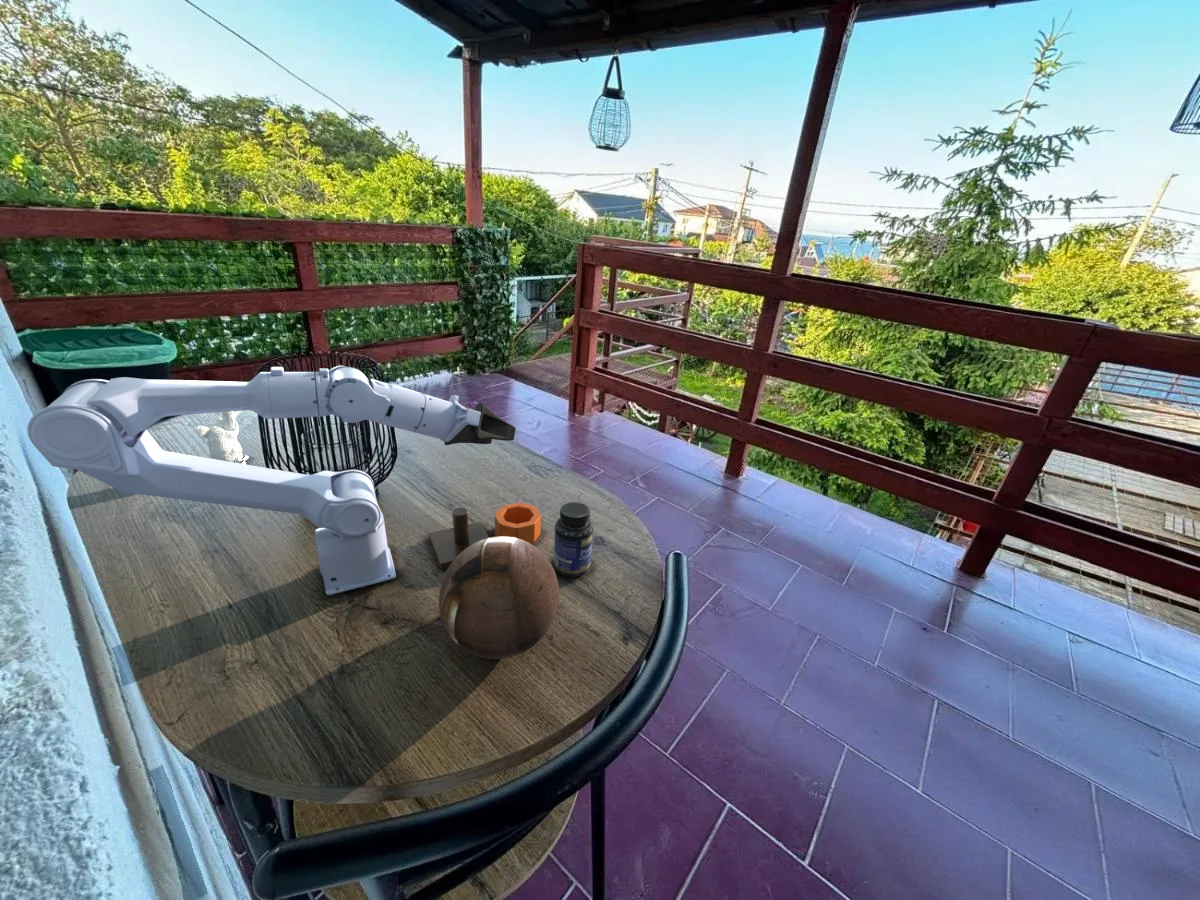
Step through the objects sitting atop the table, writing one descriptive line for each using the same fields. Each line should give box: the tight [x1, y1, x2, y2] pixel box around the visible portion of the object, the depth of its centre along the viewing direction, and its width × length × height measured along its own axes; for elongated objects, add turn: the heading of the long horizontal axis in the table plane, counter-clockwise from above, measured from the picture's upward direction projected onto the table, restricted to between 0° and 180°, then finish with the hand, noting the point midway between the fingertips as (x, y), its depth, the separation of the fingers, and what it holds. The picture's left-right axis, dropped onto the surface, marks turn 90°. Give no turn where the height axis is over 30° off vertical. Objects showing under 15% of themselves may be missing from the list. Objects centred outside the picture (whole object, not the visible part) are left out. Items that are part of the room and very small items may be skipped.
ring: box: [494, 502, 542, 545], centre depth 85 cm, size 8×8×4 cm
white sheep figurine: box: [196, 410, 250, 465], centre depth 98 cm, size 8×7×12 cm
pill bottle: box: [553, 501, 594, 578], centre depth 77 cm, size 6×6×11 cm
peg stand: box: [428, 507, 490, 571], centre depth 80 cm, size 9×9×7 cm
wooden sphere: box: [438, 536, 560, 660], centre depth 62 cm, size 15×15×15 cm
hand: (502, 436), depth 77 cm, fingers open, 7 cm apart
